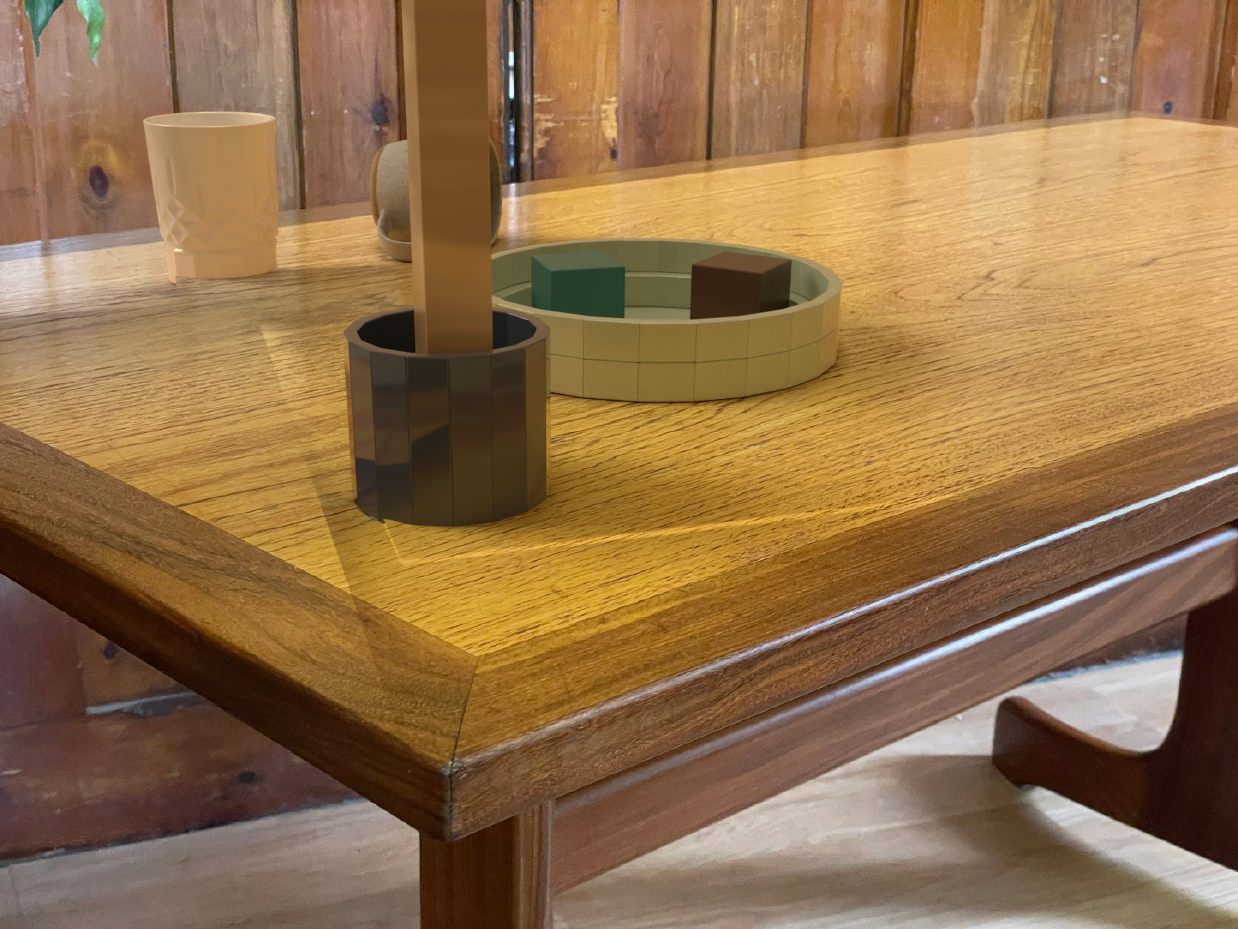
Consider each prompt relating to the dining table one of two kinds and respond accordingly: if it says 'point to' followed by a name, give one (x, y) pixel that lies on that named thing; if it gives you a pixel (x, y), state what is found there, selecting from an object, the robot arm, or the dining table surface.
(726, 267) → the walnut block
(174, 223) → the tan cup
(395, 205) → the ceramic mug
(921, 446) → the dining table surface
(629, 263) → the bowl
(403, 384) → the stick cup
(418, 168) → the brown stick
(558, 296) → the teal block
